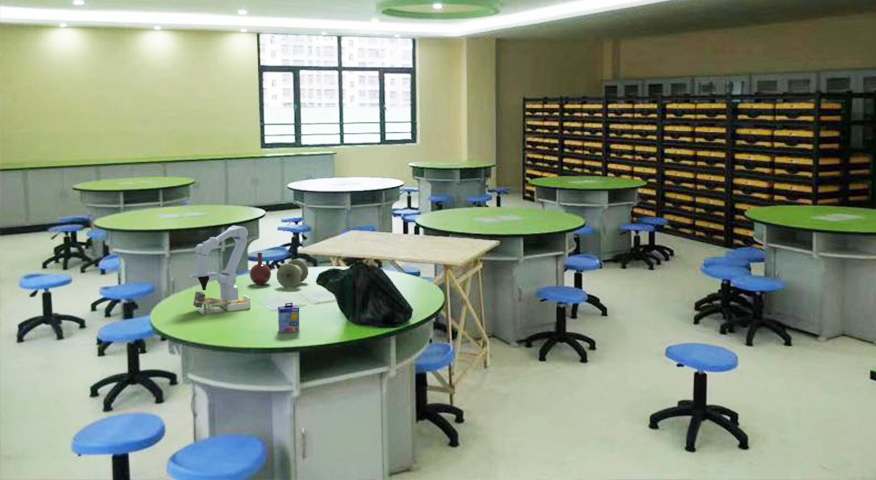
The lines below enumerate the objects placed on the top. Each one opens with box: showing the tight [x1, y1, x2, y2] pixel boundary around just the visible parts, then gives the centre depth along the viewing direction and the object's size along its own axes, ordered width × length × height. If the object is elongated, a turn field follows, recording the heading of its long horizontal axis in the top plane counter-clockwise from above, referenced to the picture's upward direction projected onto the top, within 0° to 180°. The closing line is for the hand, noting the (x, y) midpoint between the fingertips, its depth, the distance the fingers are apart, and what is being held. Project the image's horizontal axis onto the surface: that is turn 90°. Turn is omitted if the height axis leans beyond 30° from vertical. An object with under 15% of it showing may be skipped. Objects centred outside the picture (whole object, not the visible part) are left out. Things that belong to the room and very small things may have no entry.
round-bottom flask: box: [249, 252, 272, 286], centre depth 478 cm, size 13×13×20 cm
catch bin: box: [222, 294, 251, 312], centre depth 417 cm, size 12×10×6 cm
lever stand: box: [196, 303, 226, 316], centre depth 410 cm, size 12×12×6 cm
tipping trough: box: [192, 291, 231, 309], centre depth 412 cm, size 18×12×7 cm, turn 121°
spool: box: [276, 259, 309, 289], centre depth 476 cm, size 16×15×15 cm
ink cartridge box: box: [277, 302, 300, 334], centre depth 371 cm, size 10×6×14 cm, turn 112°
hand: (204, 289), depth 420 cm, fingers closed
